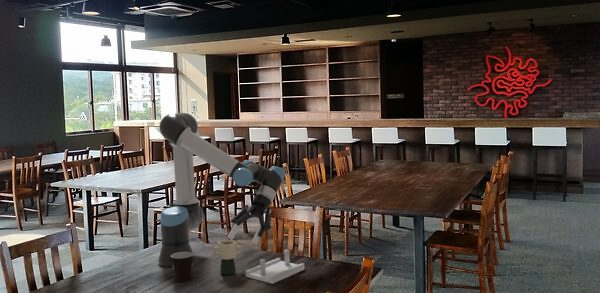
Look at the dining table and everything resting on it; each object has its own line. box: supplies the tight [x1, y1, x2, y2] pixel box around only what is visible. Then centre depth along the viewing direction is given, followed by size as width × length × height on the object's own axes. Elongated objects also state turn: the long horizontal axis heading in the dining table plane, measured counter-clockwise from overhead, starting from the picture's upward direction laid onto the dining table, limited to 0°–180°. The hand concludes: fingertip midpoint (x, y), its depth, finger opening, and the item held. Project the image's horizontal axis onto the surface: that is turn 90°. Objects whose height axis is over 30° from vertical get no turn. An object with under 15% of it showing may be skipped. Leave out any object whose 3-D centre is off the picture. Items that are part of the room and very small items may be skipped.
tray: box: [245, 249, 305, 284], centre depth 214 cm, size 14×20×8 cm
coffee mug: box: [171, 252, 194, 284], centre depth 210 cm, size 12×9×10 cm
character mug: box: [213, 239, 242, 275], centre depth 215 cm, size 11×7×13 cm, turn 90°
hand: (241, 240), depth 219 cm, fingers open, 13 cm apart
